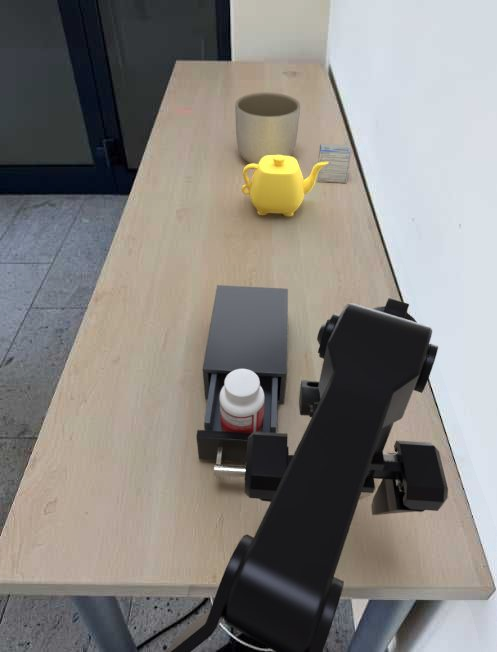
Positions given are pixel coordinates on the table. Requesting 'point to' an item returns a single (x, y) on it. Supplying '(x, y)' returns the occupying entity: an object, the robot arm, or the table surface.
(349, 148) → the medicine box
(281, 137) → the planter
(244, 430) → the pill bottle
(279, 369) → the cabinet
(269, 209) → the teapot
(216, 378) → the drawer
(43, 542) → the table surface
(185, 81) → the table surface
